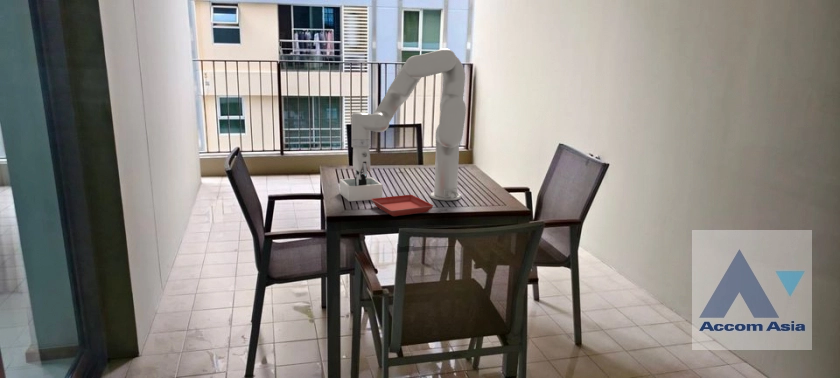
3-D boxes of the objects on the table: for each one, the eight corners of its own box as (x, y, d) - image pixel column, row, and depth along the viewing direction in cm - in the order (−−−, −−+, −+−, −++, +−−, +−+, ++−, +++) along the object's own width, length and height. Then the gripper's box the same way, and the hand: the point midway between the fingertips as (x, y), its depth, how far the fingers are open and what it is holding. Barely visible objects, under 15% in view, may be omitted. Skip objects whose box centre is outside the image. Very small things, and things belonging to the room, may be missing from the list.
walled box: (382, 198, 232) (382, 184, 231) (348, 201, 227) (348, 186, 226) (371, 191, 245) (371, 177, 243) (339, 193, 239) (339, 179, 238)
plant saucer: (434, 213, 215) (434, 204, 214) (391, 219, 206) (391, 210, 205) (411, 202, 230) (411, 194, 229) (370, 207, 221) (370, 198, 220)
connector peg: (366, 194, 235) (366, 175, 233) (357, 194, 233) (357, 175, 232) (363, 192, 238) (363, 173, 236) (355, 192, 237) (355, 174, 235)
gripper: (376, 146, 225) (375, 191, 229) (363, 139, 240) (363, 182, 244) (357, 146, 222) (357, 192, 226) (346, 140, 237) (346, 183, 241)
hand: (360, 186), depth 235 cm, fingers open, 4 cm apart
